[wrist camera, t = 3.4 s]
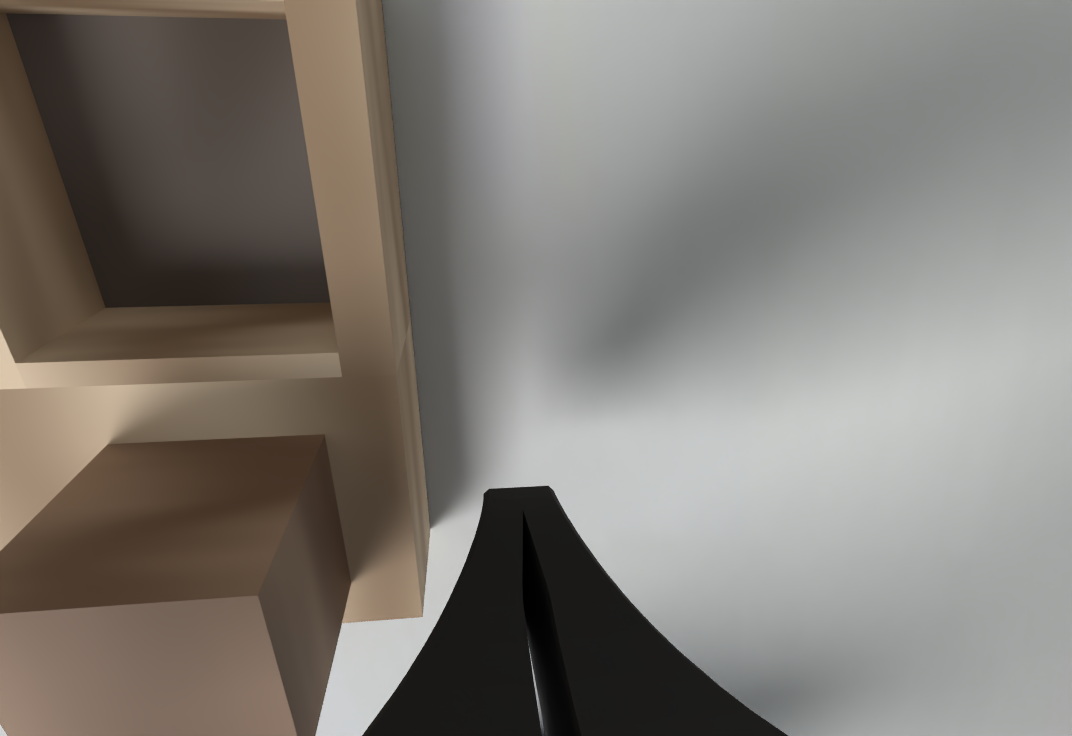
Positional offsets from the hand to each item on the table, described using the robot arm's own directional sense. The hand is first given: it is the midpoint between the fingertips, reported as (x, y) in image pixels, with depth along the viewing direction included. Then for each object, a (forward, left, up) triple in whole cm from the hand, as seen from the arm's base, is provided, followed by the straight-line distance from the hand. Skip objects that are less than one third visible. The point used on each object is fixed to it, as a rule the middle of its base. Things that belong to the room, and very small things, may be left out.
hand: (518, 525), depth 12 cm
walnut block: (+5, +3, -1) cm, 6 cm away
